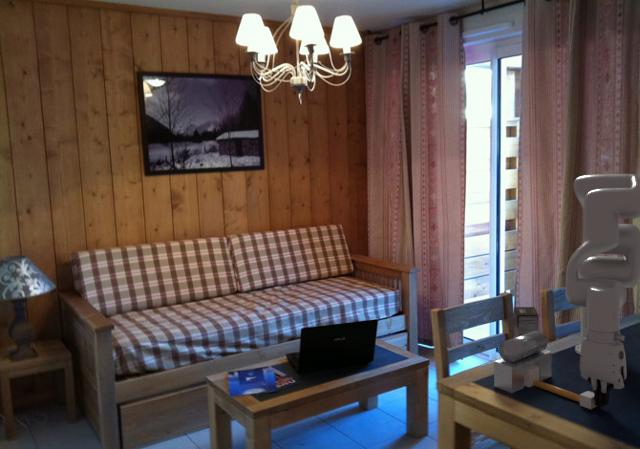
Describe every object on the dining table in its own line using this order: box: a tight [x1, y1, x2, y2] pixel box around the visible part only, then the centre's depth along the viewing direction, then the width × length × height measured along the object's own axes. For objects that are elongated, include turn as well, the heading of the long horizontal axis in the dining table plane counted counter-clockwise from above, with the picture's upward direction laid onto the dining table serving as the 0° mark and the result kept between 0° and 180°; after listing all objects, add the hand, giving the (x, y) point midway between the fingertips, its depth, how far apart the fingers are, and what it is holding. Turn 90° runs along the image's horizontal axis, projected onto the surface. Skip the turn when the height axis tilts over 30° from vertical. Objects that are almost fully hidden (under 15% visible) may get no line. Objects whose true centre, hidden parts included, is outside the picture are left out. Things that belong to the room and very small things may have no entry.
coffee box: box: [513, 306, 539, 338], centre depth 179 cm, size 9×6×16 cm
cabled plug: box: [524, 364, 598, 410], centre depth 155 cm, size 4×24×5 cm, turn 33°
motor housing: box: [493, 330, 552, 394], centre depth 162 cm, size 18×6×14 cm, turn 124°
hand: (601, 405), depth 143 cm, fingers closed
